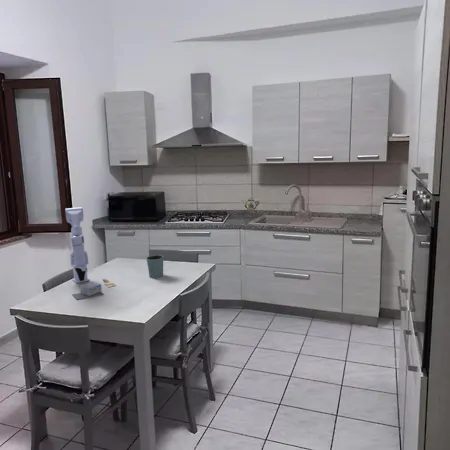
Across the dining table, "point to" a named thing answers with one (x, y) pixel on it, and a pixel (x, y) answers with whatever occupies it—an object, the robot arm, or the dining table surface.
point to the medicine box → (90, 288)
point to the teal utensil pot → (155, 266)
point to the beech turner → (108, 283)
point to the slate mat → (83, 296)
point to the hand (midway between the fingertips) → (81, 280)
